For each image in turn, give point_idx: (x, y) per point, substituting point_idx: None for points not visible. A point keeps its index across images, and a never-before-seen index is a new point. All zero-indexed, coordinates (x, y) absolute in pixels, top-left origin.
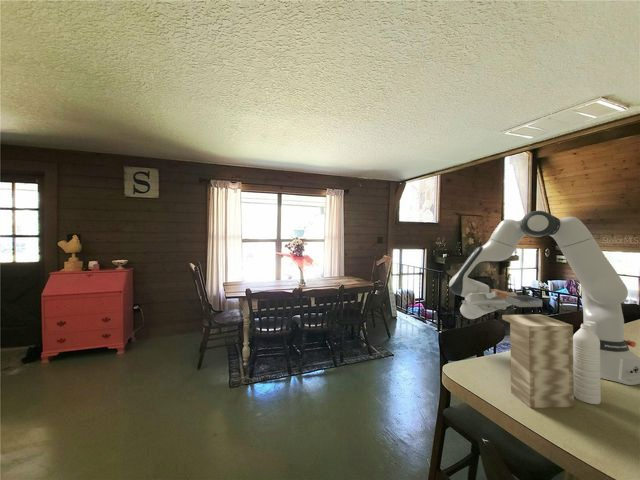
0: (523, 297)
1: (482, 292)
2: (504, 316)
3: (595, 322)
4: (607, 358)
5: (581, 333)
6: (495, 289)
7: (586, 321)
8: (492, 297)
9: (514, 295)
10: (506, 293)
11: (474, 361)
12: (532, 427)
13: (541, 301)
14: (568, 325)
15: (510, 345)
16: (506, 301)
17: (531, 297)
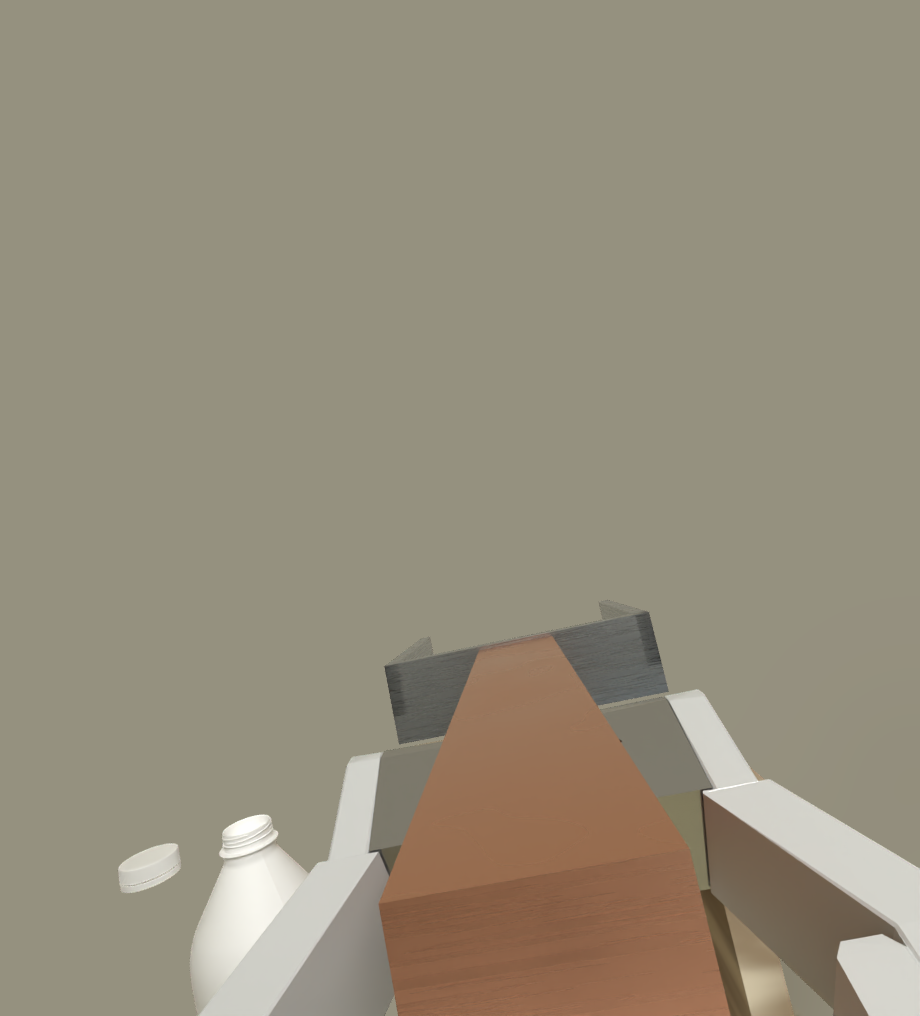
0: (440, 673)
1: None
2: (757, 776)
3: (135, 854)
4: None
5: (300, 869)
6: (476, 848)
7: (156, 860)
8: (787, 955)
9: (513, 647)
10: (537, 664)
11: None
12: None
13: (430, 649)
14: (436, 741)
15: (792, 1011)
16: (660, 676)
17: (412, 654)
